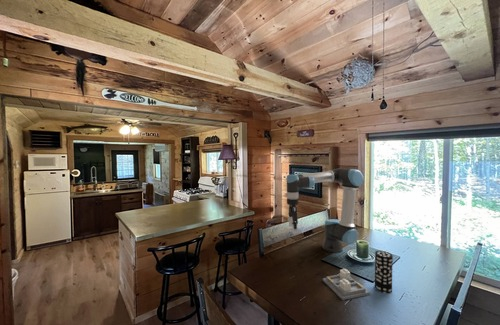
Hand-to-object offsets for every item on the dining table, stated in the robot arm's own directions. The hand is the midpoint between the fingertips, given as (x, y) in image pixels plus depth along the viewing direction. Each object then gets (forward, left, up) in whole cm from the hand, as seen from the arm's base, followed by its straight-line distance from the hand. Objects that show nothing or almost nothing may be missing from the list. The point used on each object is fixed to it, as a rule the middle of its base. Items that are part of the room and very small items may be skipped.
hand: (292, 229), depth 145 cm
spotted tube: (-39, +34, -26) cm, 58 cm away
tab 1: (-23, +23, -24) cm, 40 cm away
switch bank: (-19, +27, -26) cm, 42 cm away
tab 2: (-16, +32, -24) cm, 43 cm away
